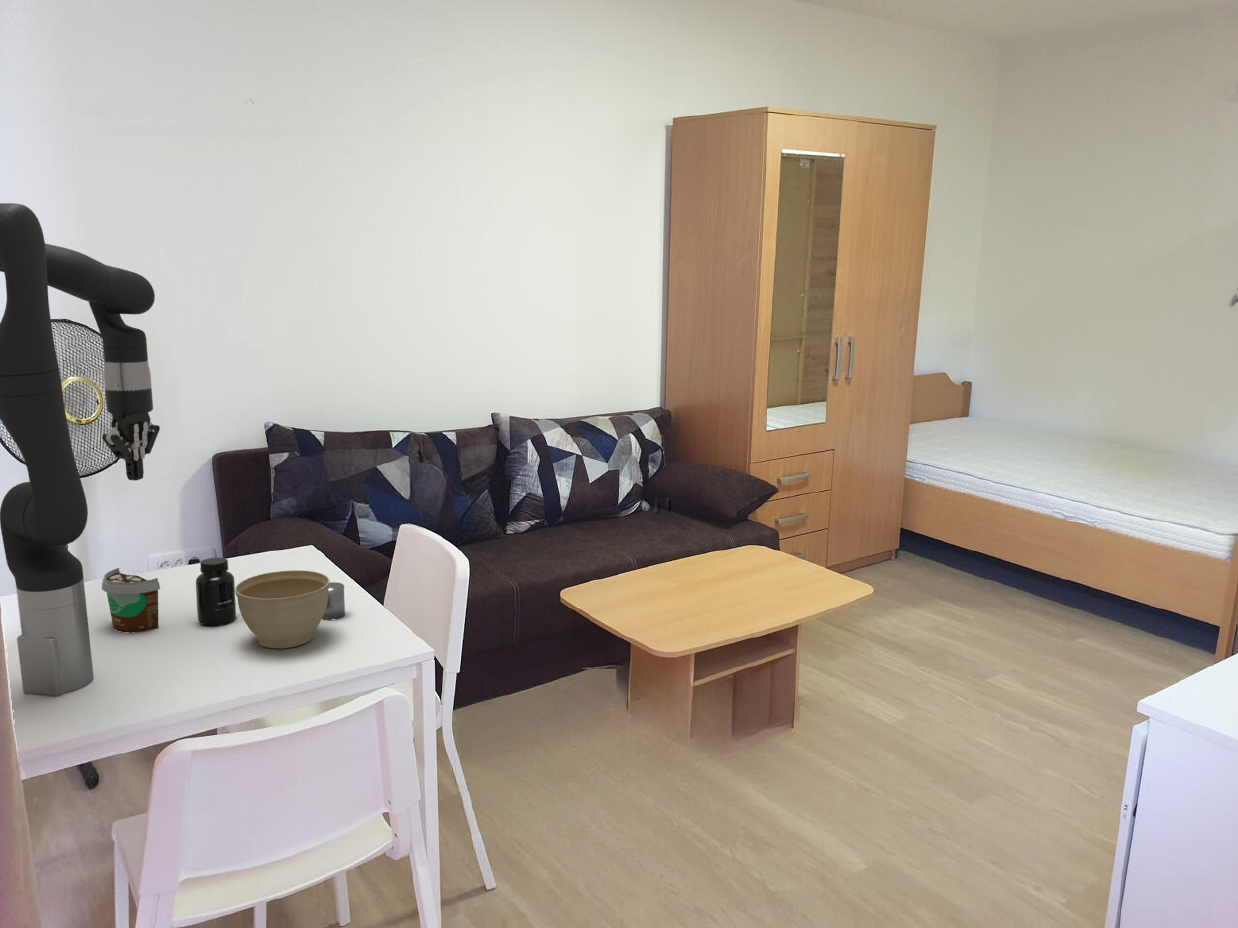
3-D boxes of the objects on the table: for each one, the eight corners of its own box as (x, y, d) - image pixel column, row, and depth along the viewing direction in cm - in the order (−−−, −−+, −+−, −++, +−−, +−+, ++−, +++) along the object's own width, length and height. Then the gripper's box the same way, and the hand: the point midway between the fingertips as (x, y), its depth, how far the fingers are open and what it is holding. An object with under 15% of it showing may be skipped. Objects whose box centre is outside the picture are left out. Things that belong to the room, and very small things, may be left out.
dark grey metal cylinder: (338, 621, 180) (336, 591, 179) (313, 619, 181) (312, 589, 180) (349, 611, 185) (348, 583, 184) (325, 610, 186) (324, 581, 185)
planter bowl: (348, 628, 177) (346, 574, 174) (298, 662, 161) (295, 603, 159) (275, 618, 181) (272, 565, 178) (219, 650, 166) (215, 592, 163)
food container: (91, 626, 175) (85, 576, 173) (121, 616, 180) (116, 567, 178) (133, 640, 169) (128, 588, 167) (163, 629, 174) (159, 578, 172)
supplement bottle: (227, 627, 176) (223, 567, 173) (191, 626, 176) (187, 565, 174) (242, 614, 183) (238, 555, 180) (208, 613, 183) (203, 554, 180)
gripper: (121, 391, 162) (129, 488, 165) (170, 383, 174) (176, 473, 178) (83, 389, 163) (91, 485, 166) (134, 381, 176) (141, 471, 179)
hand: (135, 479), depth 172 cm, fingers closed
